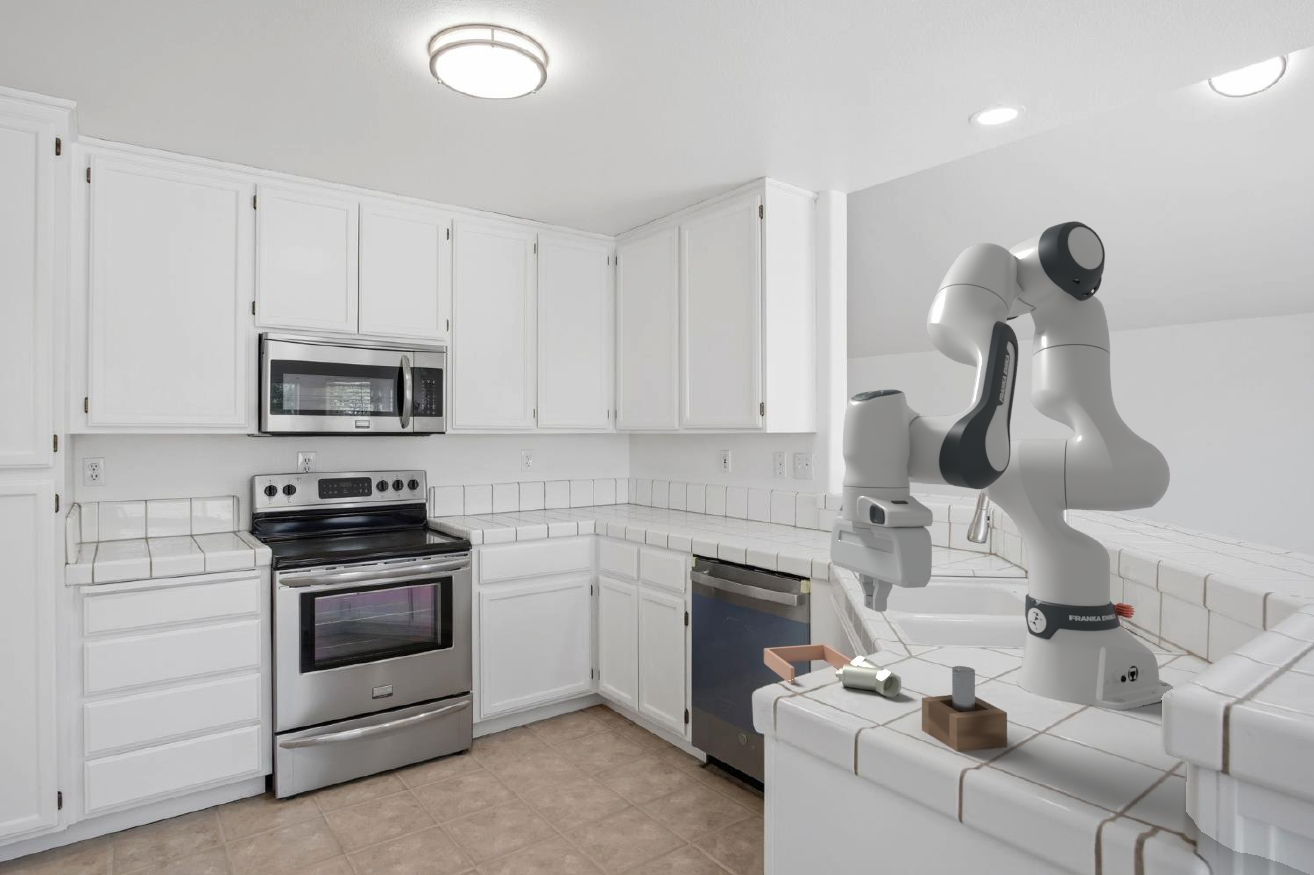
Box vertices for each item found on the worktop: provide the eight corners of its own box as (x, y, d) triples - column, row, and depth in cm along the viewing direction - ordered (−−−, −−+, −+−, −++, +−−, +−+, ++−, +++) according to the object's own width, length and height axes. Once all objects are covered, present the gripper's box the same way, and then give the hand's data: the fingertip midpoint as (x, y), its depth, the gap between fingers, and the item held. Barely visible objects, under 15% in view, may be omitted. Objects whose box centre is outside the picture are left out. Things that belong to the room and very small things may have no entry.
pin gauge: (965, 736, 92) (965, 665, 92) (979, 744, 89) (979, 671, 89) (948, 738, 91) (947, 666, 91) (961, 746, 89) (961, 673, 89)
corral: (824, 658, 125) (824, 643, 125) (856, 678, 114) (856, 662, 114) (763, 663, 122) (763, 648, 122) (790, 684, 112) (790, 668, 112)
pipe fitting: (831, 660, 112) (868, 653, 114) (831, 684, 112) (868, 677, 114) (862, 678, 104) (901, 671, 106) (862, 705, 104) (901, 696, 107)
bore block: (969, 727, 95) (969, 693, 95) (1007, 749, 88) (1007, 712, 88) (921, 732, 93) (921, 697, 93) (956, 755, 86) (956, 718, 86)
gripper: (819, 502, 108) (819, 595, 108) (896, 514, 88) (895, 628, 88) (858, 502, 110) (857, 593, 109) (941, 513, 90) (941, 625, 90)
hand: (875, 609), depth 99 cm, fingers closed
